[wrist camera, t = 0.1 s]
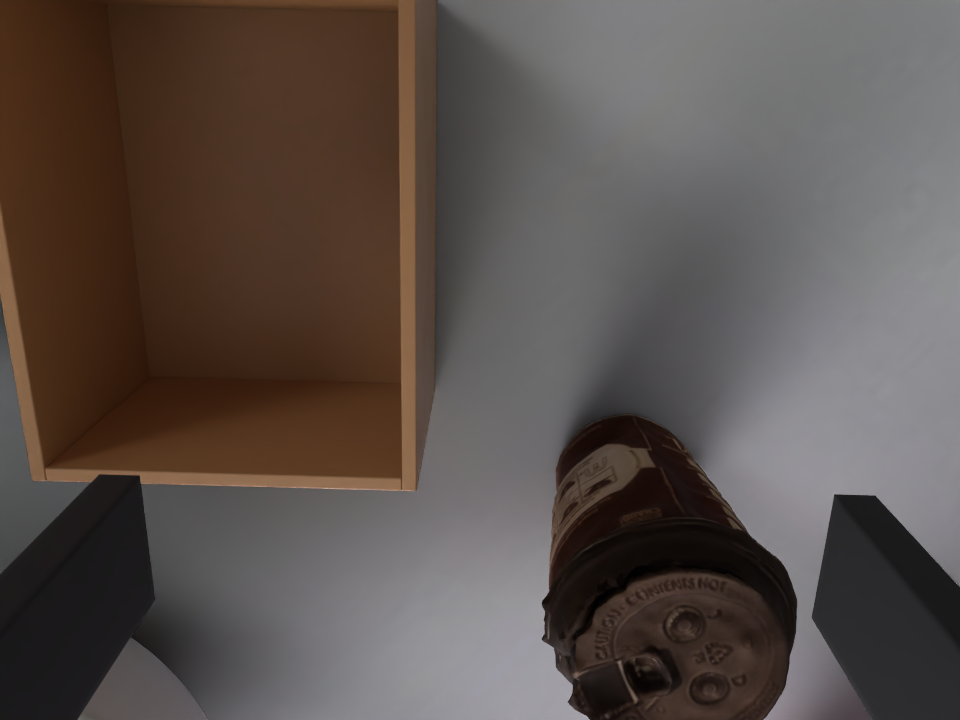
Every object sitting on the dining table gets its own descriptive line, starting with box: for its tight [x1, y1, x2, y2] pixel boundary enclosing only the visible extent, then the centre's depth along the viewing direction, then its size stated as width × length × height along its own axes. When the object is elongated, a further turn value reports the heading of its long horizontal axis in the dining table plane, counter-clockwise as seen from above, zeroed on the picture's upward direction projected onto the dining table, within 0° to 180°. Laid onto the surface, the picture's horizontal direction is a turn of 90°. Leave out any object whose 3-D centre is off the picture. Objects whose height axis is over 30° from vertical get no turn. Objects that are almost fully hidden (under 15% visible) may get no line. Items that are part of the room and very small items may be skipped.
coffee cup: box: [542, 414, 797, 720], centre depth 32 cm, size 9×8×13 cm
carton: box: [0, 0, 437, 491], centre depth 29 cm, size 16×13×10 cm
